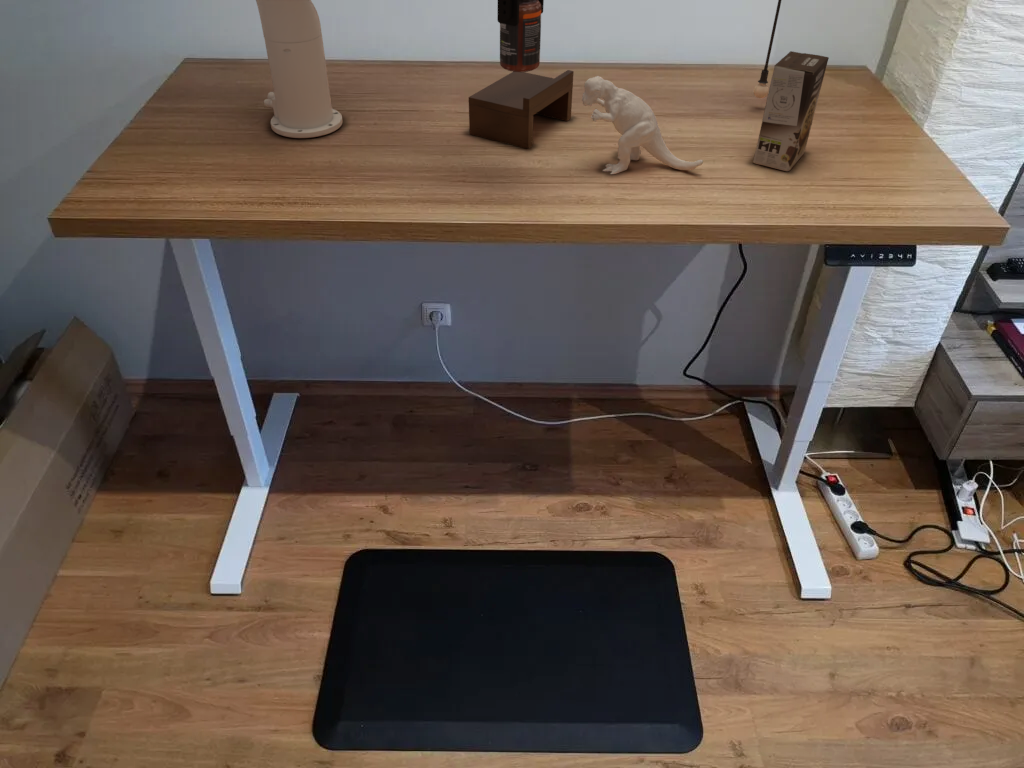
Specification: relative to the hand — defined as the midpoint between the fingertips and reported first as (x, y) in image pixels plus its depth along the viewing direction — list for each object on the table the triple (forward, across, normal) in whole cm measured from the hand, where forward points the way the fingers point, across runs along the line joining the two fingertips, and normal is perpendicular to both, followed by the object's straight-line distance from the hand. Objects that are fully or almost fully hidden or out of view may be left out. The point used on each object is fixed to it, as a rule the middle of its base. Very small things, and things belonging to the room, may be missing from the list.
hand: (520, 16), depth 115 cm
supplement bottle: (+7, 0, 0) cm, 7 cm away
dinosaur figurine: (+24, -14, +16) cm, 32 cm away
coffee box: (+24, -29, +34) cm, 51 cm away
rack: (+24, -17, -10) cm, 31 cm away
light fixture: (+24, -49, +24) cm, 59 cm away
